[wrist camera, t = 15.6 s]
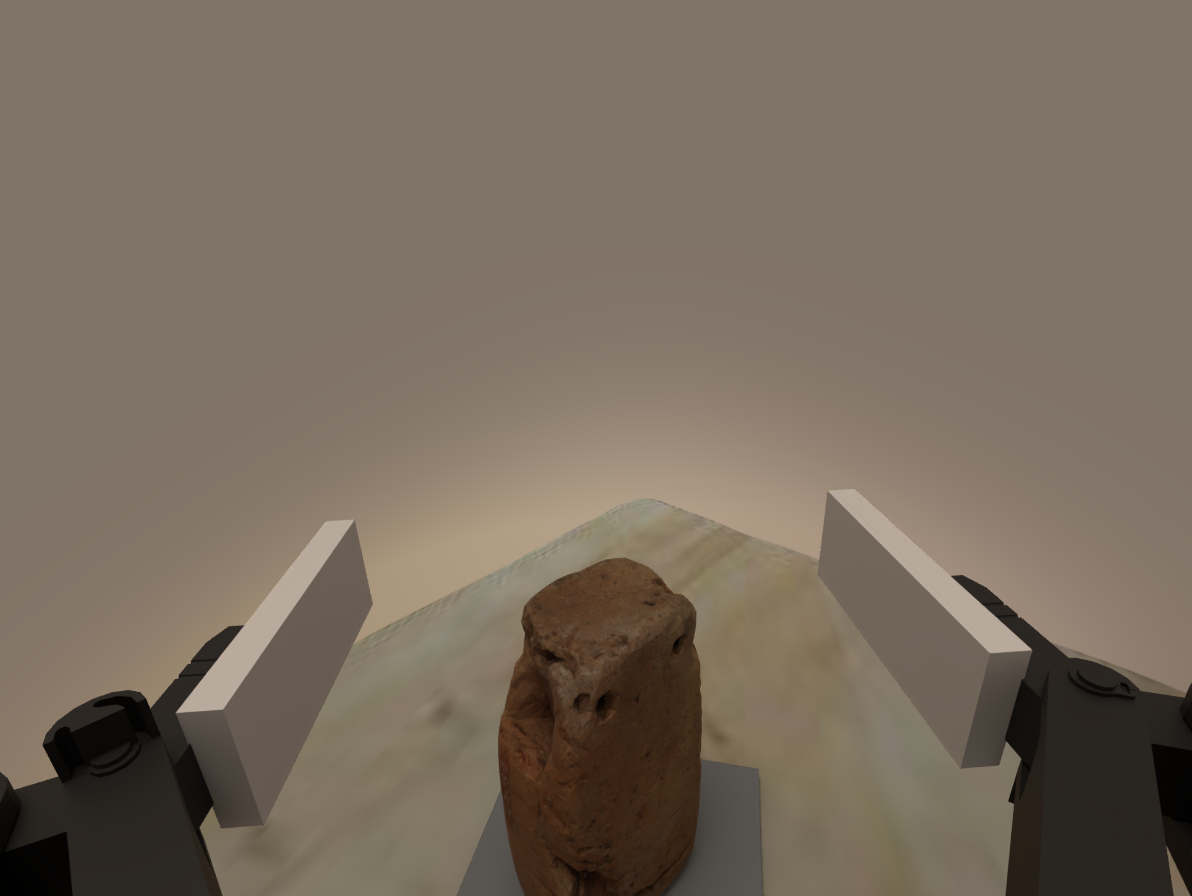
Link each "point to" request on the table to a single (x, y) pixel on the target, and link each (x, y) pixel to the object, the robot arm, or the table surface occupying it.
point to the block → (603, 736)
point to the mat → (714, 869)
